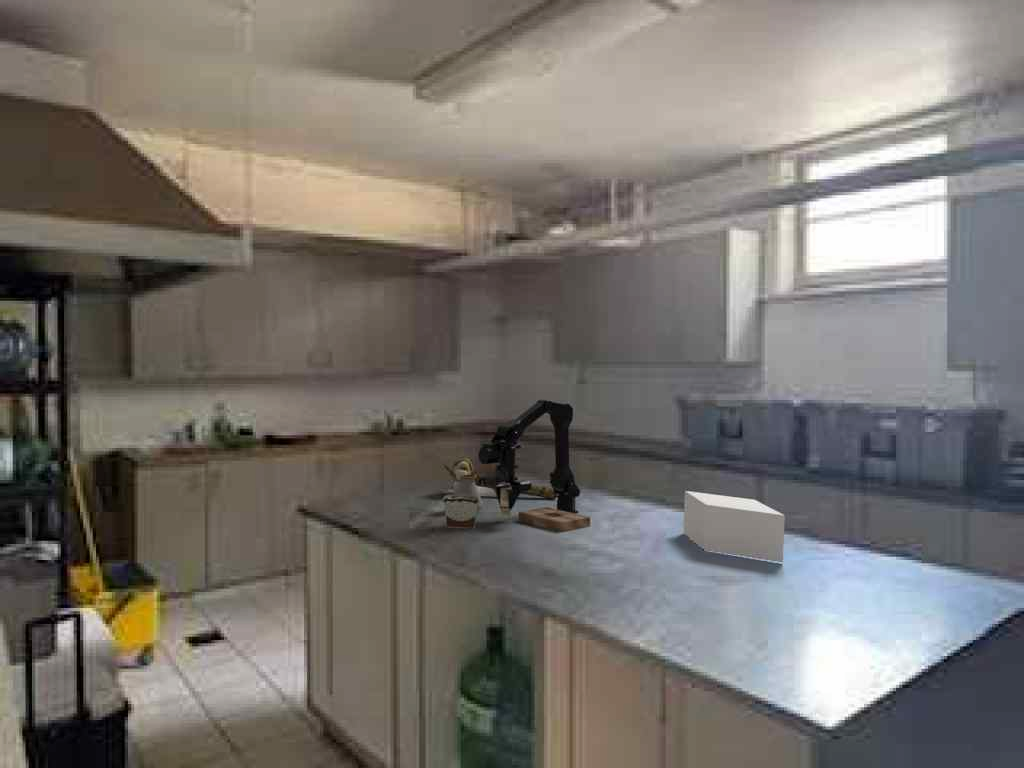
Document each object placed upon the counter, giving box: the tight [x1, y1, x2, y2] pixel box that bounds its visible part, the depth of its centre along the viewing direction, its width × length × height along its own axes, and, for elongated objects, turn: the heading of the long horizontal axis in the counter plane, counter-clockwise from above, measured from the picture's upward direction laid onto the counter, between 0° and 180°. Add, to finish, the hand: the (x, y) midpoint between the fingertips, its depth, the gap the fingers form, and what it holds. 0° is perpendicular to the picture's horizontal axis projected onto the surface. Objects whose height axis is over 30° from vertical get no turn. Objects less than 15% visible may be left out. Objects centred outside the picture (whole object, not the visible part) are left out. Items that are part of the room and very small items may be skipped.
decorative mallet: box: [449, 458, 558, 501], centre depth 301 cm, size 15×42×16 cm, turn 93°
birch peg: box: [499, 488, 513, 517], centre depth 255 cm, size 4×4×9 cm
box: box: [683, 490, 786, 563], centre depth 227 cm, size 20×40×14 cm, turn 30°
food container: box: [441, 493, 480, 529], centre depth 247 cm, size 12×6×10 cm, turn 84°
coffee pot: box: [441, 464, 484, 513], centre depth 274 cm, size 21×12×15 cm, turn 38°
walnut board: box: [517, 507, 591, 533], centre depth 254 cm, size 14×20×3 cm
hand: (506, 507), depth 255 cm, fingers closed on birch peg, 4 cm apart
